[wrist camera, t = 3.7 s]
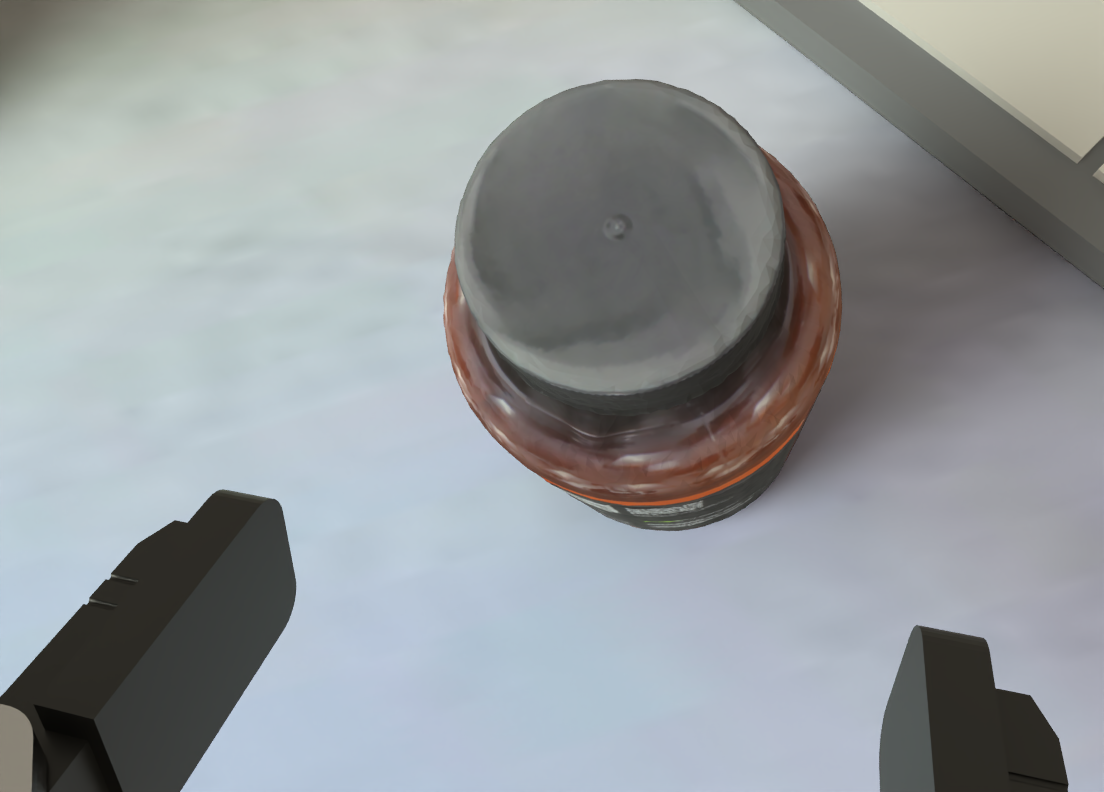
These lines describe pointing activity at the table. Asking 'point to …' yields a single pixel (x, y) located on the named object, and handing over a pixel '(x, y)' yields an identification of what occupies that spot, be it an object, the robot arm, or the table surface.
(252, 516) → the robot arm
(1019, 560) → the table surface
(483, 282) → the supplement bottle
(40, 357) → the table surface
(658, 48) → the table surface
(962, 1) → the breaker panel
